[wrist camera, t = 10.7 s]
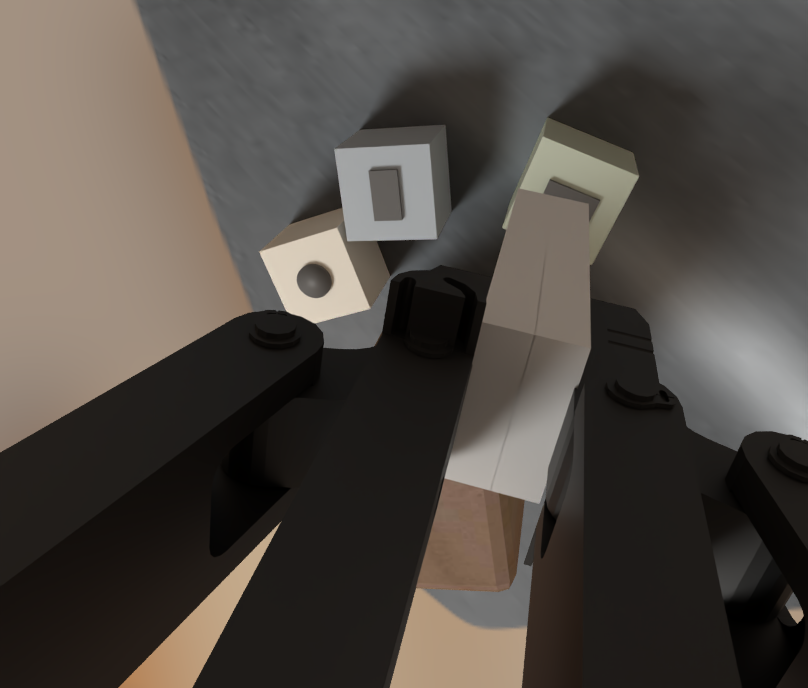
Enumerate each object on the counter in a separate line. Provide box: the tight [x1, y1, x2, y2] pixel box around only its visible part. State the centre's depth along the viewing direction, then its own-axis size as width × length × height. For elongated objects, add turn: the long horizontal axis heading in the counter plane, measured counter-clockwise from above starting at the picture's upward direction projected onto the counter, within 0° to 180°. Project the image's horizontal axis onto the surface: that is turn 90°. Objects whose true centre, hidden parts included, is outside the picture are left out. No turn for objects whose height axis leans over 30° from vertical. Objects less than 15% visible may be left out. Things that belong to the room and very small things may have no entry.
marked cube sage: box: [502, 117, 639, 265], centre depth 46 cm, size 6×6×6 cm
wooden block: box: [375, 333, 524, 592], centre depth 48 cm, size 10×10×20 cm
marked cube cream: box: [259, 208, 390, 323], centre depth 52 cm, size 6×6×6 cm
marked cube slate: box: [334, 125, 452, 241], centre depth 48 cm, size 6×6×6 cm
